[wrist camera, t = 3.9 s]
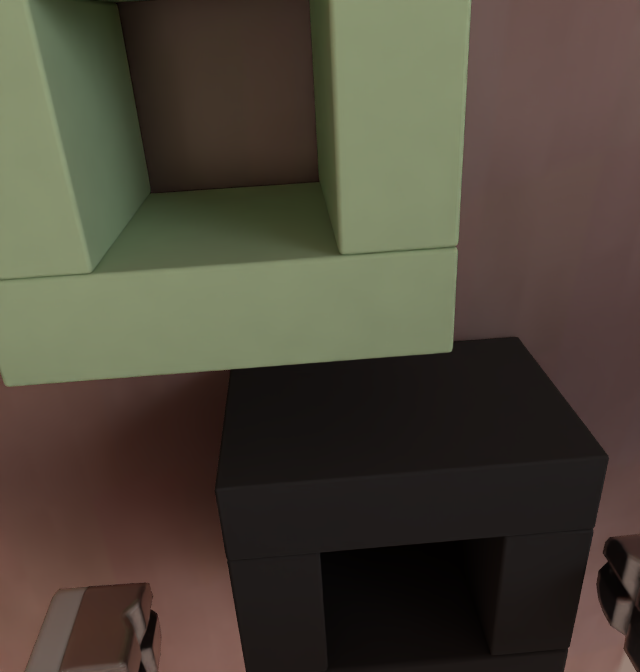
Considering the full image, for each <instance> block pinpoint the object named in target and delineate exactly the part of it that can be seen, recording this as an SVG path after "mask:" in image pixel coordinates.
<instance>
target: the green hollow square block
mask: <svg viewBox="0 0 640 672" xmlns="http://www.w3.org/2000/svg"><path fill="white" fill-rule="evenodd" d="M131 1H148V0H0V373H1V376H2V379H3V382H4V384H5V385H6V386H8V387H11V386H24V385H37V384H50V383H63V382H76V381H88V380H101V379H114V378H127V377H140V376H153V375H165V374H178V373H191V372H204V371H217V370H230V369H242V368H255V367H268V366H281V365H294V364H307V363H319V362H332V361H345V360H358V359H371V358H384V357H396V356H409V355H422V354H435V353H448V352H451V351H452V349H453V335H454V316H455V298H456V279H457V261H458V250H457V248H456V247H455V246H456V245H457V243H458V240H459V221H460V202H461V184H462V165H463V146H464V128H465V109H466V90H467V72H468V53H469V34H470V16H471V0H309V3H310V22H311V41H312V59H313V78H314V97H315V115H316V134H317V153H318V171H319V181H320V182H313V183H299V184H284V185H269V186H255V187H240V188H226V189H211V190H196V191H182V192H167V193H152V194H150V192H151V187H150V182H149V176H148V171H147V165H146V160H145V154H144V149H143V143H142V138H141V132H140V127H139V121H138V116H137V110H136V105H135V99H134V93H133V88H132V82H131V77H130V71H129V66H128V60H127V55H126V49H125V44H124V38H123V33H122V27H121V22H120V16H119V11H118V6H117V4H115V3H114V2H131Z"/></svg>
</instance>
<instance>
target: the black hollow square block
mask: <svg viewBox="0 0 640 672" xmlns="http://www.w3.org/2000/svg"><path fill="white" fill-rule="evenodd" d="M608 460H609V457H608V455H607V453H606V452H605V451H604V449H603V448H602V447H601V445H600V444H599V443H598V442H597V440H596V439H595V438H594V436H593V435H592V434H591V432H590V431H589V430H588V428H587V427H586V426H585V424H584V423H583V422H582V421H581V419H580V418H579V417H578V415H577V414H576V413H575V411H574V410H573V409H572V407H571V406H570V405H569V404H568V402H567V401H566V400H565V398H564V397H563V396H562V394H561V393H560V392H559V390H558V389H557V388H556V387H555V385H554V384H553V383H552V381H551V380H550V379H549V377H548V376H547V375H546V373H545V372H544V371H543V370H542V368H541V367H540V366H539V364H538V363H537V362H536V360H535V359H534V358H533V356H532V355H531V354H530V352H529V351H528V350H527V349H526V347H525V346H524V345H523V343H522V342H521V341H520V339H519V338H518V337H510V338H497V339H484V340H471V341H458V342H453V349H452V351H451V352H448V353H435V354H422V355H409V356H396V357H384V358H371V359H358V360H345V361H332V362H319V363H307V364H294V365H281V366H268V367H255V368H242V369H230V377H229V385H228V392H227V400H226V407H225V415H224V423H223V430H222V438H221V446H220V453H219V461H218V469H217V476H216V484H215V495H216V501H217V507H218V513H219V518H220V524H221V530H222V536H223V542H224V547H225V553H226V558H227V563H228V569H229V575H230V581H231V587H232V593H233V598H234V604H235V610H236V616H237V622H238V628H239V633H240V639H241V645H242V651H243V657H244V663H245V668H246V672H564V668H565V663H566V658H567V653H568V648H569V647H570V642H571V638H572V633H573V628H574V623H575V618H576V613H577V609H578V604H579V599H580V594H581V589H582V584H583V580H584V575H585V570H586V565H587V560H588V555H589V551H590V546H591V541H592V536H593V528H594V527H595V522H596V518H597V513H598V508H599V503H600V498H601V493H602V489H603V484H604V479H605V474H606V469H607V464H608Z"/></svg>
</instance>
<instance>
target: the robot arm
mask: <svg viewBox="0 0 640 672" xmlns="http://www.w3.org/2000/svg"><path fill="white" fill-rule="evenodd" d="M603 554H604V556H605V557H606V559H607V560H608V562H607V563H606V564H605V565H604V566H603V567H602V568H601V569H600V570H599V571H598V577H597V583H596V586H597V593H598V600H599V603H600V605H601V608H602V611H603V613H604V615H605V617H606V619H607V620H608V622H609V624H610V626H612V627H613V628H615V629H616V630H618V631H619V632H620V633H622V634H623V635H625V642H624V648H623V649H624V651H625V652H626V654H627V656H628V657H629V659H630V661H631V662H632V664H633V666H634V668H635V670H636V671H637V672H640V534H633V535H624V536H615V537H610V538H609V539H608V540H607V541H606V542H605V545H604V549H603ZM152 600H153V594H152V591H151V587H150V584H149V583H146V582H144V583H130V584H115V585H101V586H89V587H78V588H65V589H59V590H58V591H57V592H56V594H55V595H54V596H53V598H52V600H51V602H50V605H49V608H48V610H47V613H46V616H45V618H44V621H43V624H42V626H41V629H40V632H39V634H38V637H37V640H36V642H35V645H34V647H33V650H32V653H31V655H30V658H29V661H28V663H27V666H26V669H25V671H24V672H158V669H159V662H160V656H161V629H160V622H159V618H158V614H157V613H156V612H154V611H153V610H151V605H152Z"/></svg>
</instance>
